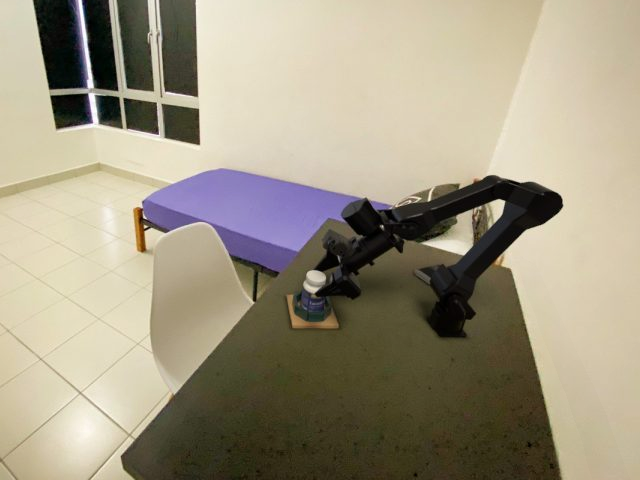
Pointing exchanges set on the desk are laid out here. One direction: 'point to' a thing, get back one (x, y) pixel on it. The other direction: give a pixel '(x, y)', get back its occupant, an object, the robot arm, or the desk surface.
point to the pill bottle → (313, 291)
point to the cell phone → (426, 272)
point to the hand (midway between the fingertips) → (314, 283)
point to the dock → (310, 314)
